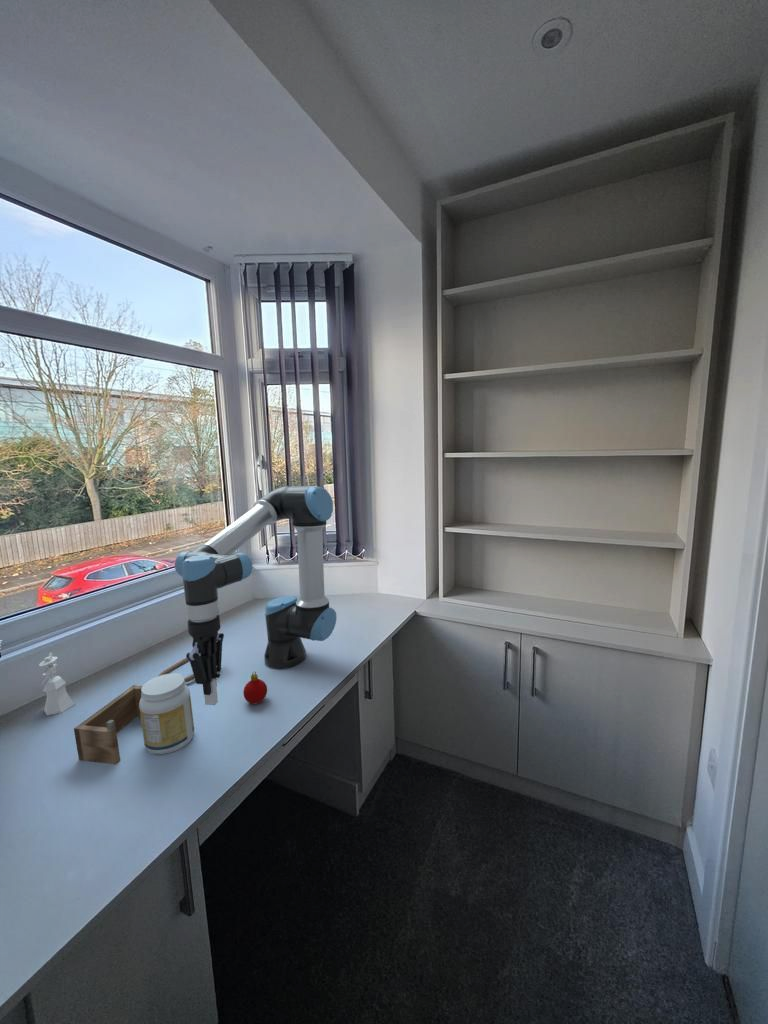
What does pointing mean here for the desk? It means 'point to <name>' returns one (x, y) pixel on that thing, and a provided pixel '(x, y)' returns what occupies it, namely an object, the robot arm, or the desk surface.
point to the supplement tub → (166, 714)
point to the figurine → (54, 688)
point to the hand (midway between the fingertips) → (211, 703)
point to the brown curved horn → (177, 667)
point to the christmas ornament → (255, 690)
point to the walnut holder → (107, 728)
